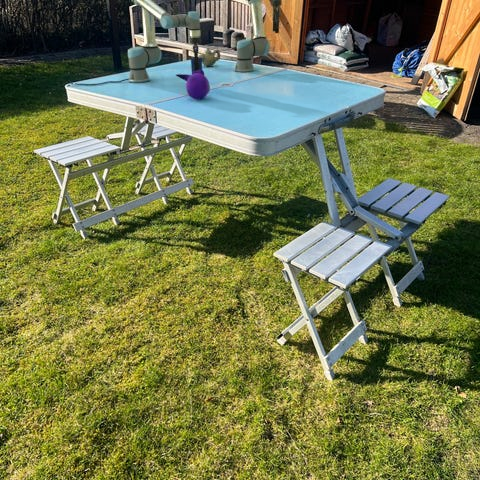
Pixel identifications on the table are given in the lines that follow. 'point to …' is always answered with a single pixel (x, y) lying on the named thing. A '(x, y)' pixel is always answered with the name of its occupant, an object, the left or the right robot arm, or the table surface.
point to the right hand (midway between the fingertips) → (275, 32)
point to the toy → (196, 84)
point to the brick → (194, 64)
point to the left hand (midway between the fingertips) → (197, 72)
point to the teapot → (210, 57)
